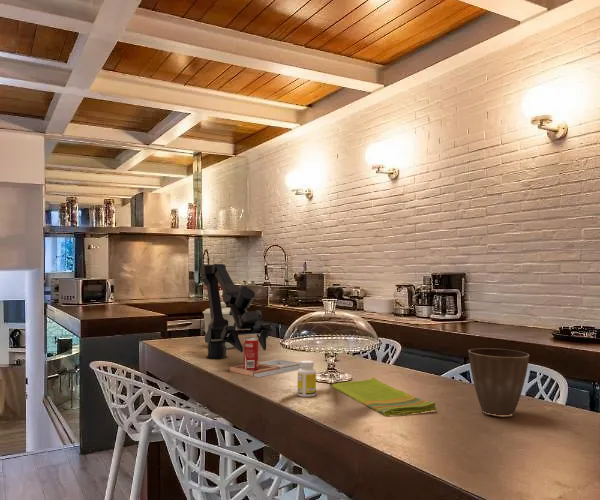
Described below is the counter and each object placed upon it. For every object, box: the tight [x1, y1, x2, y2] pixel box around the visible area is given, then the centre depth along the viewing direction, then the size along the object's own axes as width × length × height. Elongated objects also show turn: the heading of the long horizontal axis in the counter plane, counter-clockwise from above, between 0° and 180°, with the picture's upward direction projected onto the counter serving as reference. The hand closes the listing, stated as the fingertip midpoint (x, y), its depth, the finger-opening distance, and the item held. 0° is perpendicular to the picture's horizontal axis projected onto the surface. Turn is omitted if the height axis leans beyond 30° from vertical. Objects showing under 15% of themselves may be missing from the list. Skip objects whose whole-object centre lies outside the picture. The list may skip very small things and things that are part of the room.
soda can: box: [242, 336, 259, 371], centre depth 197 cm, size 5×5×12 cm
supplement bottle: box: [297, 360, 317, 398], centre depth 162 cm, size 5×5×10 cm
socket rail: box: [229, 358, 301, 378], centre depth 201 cm, size 25×14×2 cm, turn 138°
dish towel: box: [331, 377, 437, 417], centre depth 159 cm, size 15×36×3 cm, turn 19°
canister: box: [202, 301, 237, 350], centre depth 254 cm, size 18×18×21 cm
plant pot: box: [468, 347, 530, 415], centre depth 144 cm, size 15×15×16 cm
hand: (253, 350), depth 197 cm, fingers open, 9 cm apart
